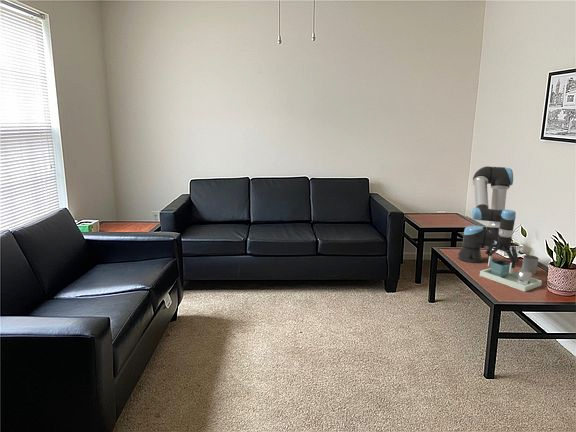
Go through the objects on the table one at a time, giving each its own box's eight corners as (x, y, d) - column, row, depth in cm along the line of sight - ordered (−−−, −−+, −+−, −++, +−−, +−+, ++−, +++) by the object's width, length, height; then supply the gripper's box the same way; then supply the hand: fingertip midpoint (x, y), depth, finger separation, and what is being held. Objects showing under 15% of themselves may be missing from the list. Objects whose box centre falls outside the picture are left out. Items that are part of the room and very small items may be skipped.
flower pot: (488, 275, 270) (490, 261, 268) (498, 273, 274) (500, 259, 272) (500, 280, 263) (502, 266, 261) (510, 278, 266) (512, 264, 264)
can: (513, 284, 257) (515, 271, 256) (520, 281, 261) (522, 269, 259) (525, 288, 252) (527, 275, 250) (531, 285, 256) (534, 273, 254)
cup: (537, 274, 277) (540, 259, 275) (523, 273, 279) (526, 258, 277) (533, 270, 285) (535, 255, 283) (519, 269, 287) (522, 254, 285)
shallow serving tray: (479, 276, 270) (480, 270, 269) (496, 272, 279) (497, 266, 278) (524, 293, 247) (525, 286, 246) (540, 287, 257) (542, 280, 256)
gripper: (482, 231, 271) (477, 264, 275) (522, 242, 250) (516, 277, 255) (489, 230, 275) (484, 262, 280) (529, 240, 255) (523, 274, 259)
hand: (499, 269), depth 267 cm, fingers open, 13 cm apart
